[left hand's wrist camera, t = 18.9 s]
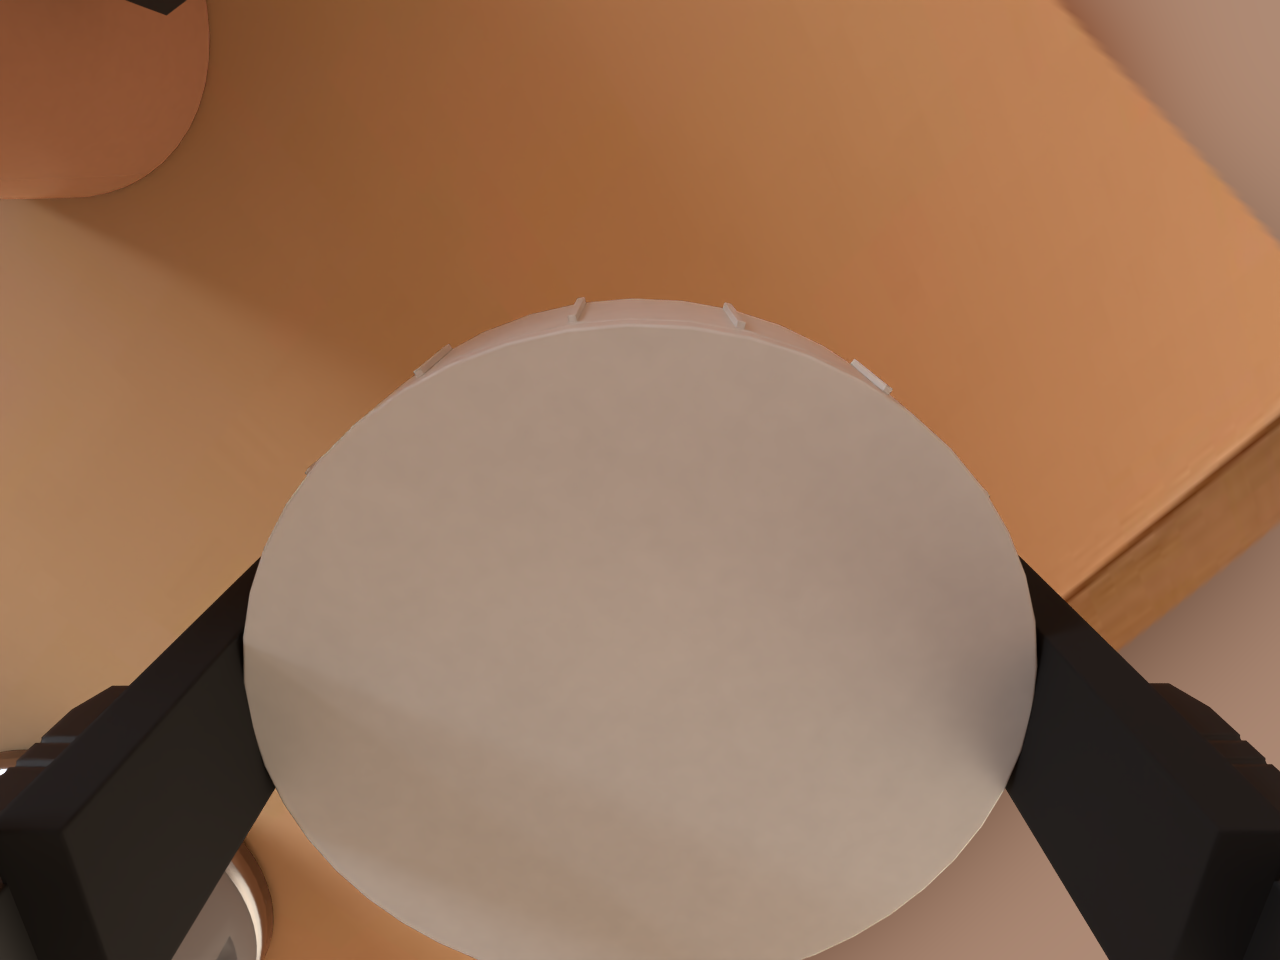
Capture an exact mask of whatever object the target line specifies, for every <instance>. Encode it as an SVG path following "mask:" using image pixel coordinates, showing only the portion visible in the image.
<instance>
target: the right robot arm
mask: <svg viewBox="0 0 1280 960" xmlns="http://www.w3.org/2000/svg"><path fill="white" fill-rule="evenodd" d="M126 1H129V2H131V3H134V4H137V5H139V6H142V7H145V8H148V9H150V10H153V11H156V12H158V13H161V14H164V15H166V16H167V15H168V14H169V13H171V12H172V11H173V10H175V9H176V8H177V7H179V6H180V5H181V4H183V3H184V2H185V1H186V0H126Z"/></svg>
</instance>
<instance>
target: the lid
mask: <svg viewBox="0 0 1280 960" xmlns="http://www.w3.org/2000/svg"><path fill="white" fill-rule="evenodd" d="M414 374H415V375H414V376H412V377H411V378H410V379H408V380H407V381H406V382H404V383H403V384H402V385H401V386H399V387H398V388H397V389H396V390H395V391H393V392H392V393H391V394H390V395H389V396H388V397H386V398H385V399H384V400H383V401H382V402H380V403H379V404H378V405H377V406H376V407H374V408H373V409H372V410H371V411H370V412H368V413H367V414H366V415H365V416H364V417H362V418H361V419H360V420H359V421H358V422H356V423H355V424H354V425H353V426H352V427H351V428H350V429H349V430H348V431H347V432H346V433H345V434H344V435H343V436H342V437H341V438H340V439H339V440H338V441H337V442H336V443H335V444H334V445H333V446H332V447H331V448H330V449H329V450H328V451H327V452H326V453H325V454H324V455H323V456H322V457H320V458H319V459H318V460H317V461H316V462H315V463H313V464H312V465H311V466H310V467H309V468H308V469H307V470H306V472H305V474H307V476H306V477H305V479H304V480H303V481H302V483H301V484H300V486H299V487H298V488H297V490H296V491H295V492H294V494H293V495H292V497H291V498H290V499H289V501H288V502H287V504H286V505H285V507H284V509H283V511H282V513H281V515H280V517H279V519H278V521H277V523H276V525H275V527H274V529H273V531H272V533H271V535H270V537H269V539H268V541H267V543H266V545H265V547H264V549H263V552H262V556H261V559H260V562H259V565H258V568H257V571H256V575H255V578H254V581H253V584H252V587H251V590H250V595H249V602H248V608H247V615H246V622H245V629H244V636H243V663H244V685H245V690H246V695H247V699H248V704H249V709H250V714H251V718H252V723H253V728H254V732H255V736H256V740H257V743H258V747H259V750H260V753H261V756H262V759H263V762H264V765H265V767H266V769H267V771H268V773H269V775H270V777H271V779H272V781H273V783H274V785H275V787H276V789H277V791H278V793H279V795H280V797H281V799H282V801H283V803H284V805H285V806H286V808H287V809H288V811H289V812H290V814H291V815H292V816H293V818H294V819H295V821H296V822H297V824H298V825H299V827H300V828H301V830H302V831H303V833H304V834H305V835H306V837H307V838H308V840H309V841H310V842H311V843H312V844H313V845H314V846H315V847H316V849H317V850H318V851H319V852H320V853H321V854H322V855H323V856H324V858H325V859H326V860H327V861H328V862H329V863H330V864H331V865H332V867H333V868H334V869H335V870H336V871H337V872H338V873H340V874H341V875H342V876H343V877H344V878H345V879H346V880H347V881H349V882H350V883H351V884H352V885H353V886H354V887H355V888H356V889H358V890H359V891H360V892H361V893H362V894H363V895H364V896H366V897H367V898H368V899H369V900H371V901H372V902H374V903H375V904H376V905H378V906H379V907H381V908H382V909H384V910H385V911H386V912H388V913H389V914H391V915H392V916H394V917H395V918H396V919H398V920H399V921H401V922H402V923H404V924H406V925H407V926H409V927H411V928H413V929H415V930H416V931H418V932H420V933H422V934H424V935H426V936H427V937H429V938H431V939H433V940H435V941H436V942H438V943H440V944H442V945H445V946H447V947H449V948H452V949H454V950H456V951H459V952H461V953H463V954H466V955H468V956H470V957H473V958H475V959H477V960H802V959H805V958H807V957H810V956H813V955H816V954H818V953H820V952H822V951H824V950H826V949H829V948H831V947H833V946H835V945H837V944H839V943H841V942H843V941H845V940H847V939H850V938H852V937H854V936H856V935H857V934H859V933H861V932H862V931H864V930H866V929H867V928H869V927H871V926H872V925H874V924H876V923H877V922H879V921H880V920H882V919H884V918H886V917H887V916H889V915H891V914H892V913H893V912H895V911H896V910H897V909H898V908H900V907H901V906H902V905H904V904H905V903H906V902H908V901H909V900H910V899H911V898H913V897H914V896H915V895H917V894H918V893H919V892H921V891H922V890H923V889H925V888H926V887H927V886H928V885H929V884H930V883H931V882H932V881H933V880H934V879H935V878H936V877H937V876H938V875H939V874H940V873H941V872H942V871H943V870H944V869H945V868H946V867H947V866H948V865H949V864H951V863H952V862H953V861H954V860H955V859H956V857H957V856H958V855H959V854H960V853H961V851H962V850H963V849H964V848H965V846H966V845H967V844H968V843H969V841H970V840H971V839H972V838H973V836H974V835H975V834H976V833H977V832H978V830H979V829H980V828H981V827H982V825H983V824H984V822H985V820H986V819H987V817H988V815H989V814H990V812H991V811H992V809H993V807H994V806H995V804H996V802H997V801H998V799H999V798H1000V796H1001V794H1002V793H1003V791H1004V789H1005V787H1006V785H1007V782H1008V780H1009V778H1010V775H1011V773H1012V771H1013V769H1014V766H1015V764H1016V762H1017V759H1018V757H1019V755H1020V753H1021V750H1022V746H1023V742H1024V738H1025V734H1026V729H1027V725H1028V721H1029V717H1030V713H1031V708H1032V703H1033V698H1034V692H1035V683H1036V674H1037V647H1036V625H1035V617H1034V612H1033V608H1032V603H1031V598H1030V593H1029V588H1028V584H1027V579H1026V575H1025V572H1024V570H1023V567H1022V564H1021V562H1020V559H1019V557H1018V554H1017V552H1016V549H1015V546H1014V544H1013V541H1012V539H1011V536H1010V533H1009V531H1008V529H1007V528H1006V526H1005V524H1004V522H1003V521H1002V519H1001V517H1000V516H999V514H998V512H997V510H996V509H995V507H994V505H993V504H992V502H991V500H990V498H989V497H990V496H989V494H988V492H987V491H986V490H985V489H984V488H983V487H982V486H981V485H980V483H979V482H978V481H977V480H976V478H975V477H974V476H973V475H972V474H971V472H970V471H969V470H968V469H967V467H966V466H965V465H964V464H963V463H962V461H961V460H960V459H959V458H958V456H957V455H956V454H955V453H954V452H953V450H952V449H951V448H950V447H949V446H948V445H947V444H946V443H944V442H943V441H942V440H941V439H940V438H939V437H938V436H937V435H936V434H934V433H933V432H932V431H931V430H930V429H929V428H928V427H927V426H926V425H925V424H923V423H922V422H921V421H920V420H919V419H918V418H917V417H916V416H915V415H913V414H912V413H911V412H910V411H909V410H908V409H906V408H905V407H904V406H903V405H902V404H900V403H899V402H898V401H897V400H896V399H895V398H893V397H892V396H891V395H890V393H891V391H892V390H893V389H892V388H891V387H890V386H888V385H887V384H886V383H885V382H883V381H882V380H881V379H880V378H879V377H877V376H876V375H875V374H874V373H872V372H871V371H870V370H869V369H867V368H866V367H865V366H864V365H862V364H861V363H860V362H859V361H857V360H856V359H854V360H853V361H852V362H851V364H850V363H849V362H847V361H846V360H844V359H843V358H841V357H840V356H838V355H837V354H835V353H834V352H832V351H831V350H829V349H828V348H826V347H825V346H823V345H821V344H819V343H817V342H814V341H812V340H810V339H808V338H806V337H804V336H802V335H800V334H798V333H796V332H794V331H792V330H789V329H787V328H785V327H783V326H781V325H779V324H776V323H772V322H769V321H766V320H763V319H760V318H757V317H754V316H751V315H748V314H744V313H741V312H738V311H737V310H736V309H735V308H734V307H733V305H732V304H730V303H726V302H725V303H724V306H723V308H721V307H715V306H709V305H704V304H698V303H692V302H687V301H679V300H655V299H631V298H630V299H619V300H608V301H597V302H586V301H585V297H581V298H577V300H576V302H575V304H573V305H569V306H565V307H560V308H556V309H552V310H547V311H543V312H539V313H534V314H530V315H527V316H525V317H522V318H519V319H517V320H514V321H511V322H509V323H506V324H503V325H501V326H498V327H496V328H493V329H490V330H488V331H485V332H483V333H481V334H479V335H477V336H475V337H473V338H472V339H470V340H468V341H466V342H464V343H462V344H461V345H459V346H457V347H455V348H453V349H452V347H451V346H450V344H448V345H446V346H444V347H443V348H442V349H440V350H439V351H438V352H437V353H435V354H434V355H433V356H432V357H431V358H429V359H428V360H427V361H426V362H425V363H423V364H422V365H421V366H420V367H418V368H417V369H416V370H415V371H414Z"/></svg>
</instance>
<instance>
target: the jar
mask: <svg viewBox="0 0 1280 960" xmlns="http://www.w3.org/2000/svg"><path fill="white" fill-rule="evenodd" d="M209 41H210V33H209V23H208V12H207V5H206V0H186V1H185V2H184V3H183V4H181V5H180V6H179V7H177V8H176V9H175V10H173V11H172V12H171V13H169V14H168V15H167V16H166V15H164V14H161V13H158V12H156V11H153V10H150V9H148V8H145V7H142V6H139V5H137V4H134V3H131V2H129V1H126V0H0V199H40V198H78V197H90V196H95V195H101V194H106V193H110V192H112V191H115V190H118V189H121V188H124V187H126V186H129V185H131V184H132V183H134V182H136V181H138V180H140V179H141V178H143V177H145V176H147V175H148V174H149V173H150V172H152V171H153V170H154V169H156V168H157V167H158V166H159V165H161V164H162V163H163V162H164V161H165V160H166V159H167V158H168V156H169V155H170V154H171V153H172V152H173V151H174V150H175V149H176V148H177V146H178V145H179V143H180V142H181V140H182V139H183V137H184V136H185V134H186V133H187V131H188V130H189V128H190V126H191V124H192V121H193V119H194V117H195V115H196V113H197V111H198V108H199V105H200V102H201V98H202V95H203V91H204V88H205V84H206V77H207V71H208V64H209Z"/></svg>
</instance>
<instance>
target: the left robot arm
mask: <svg viewBox="0 0 1280 960" xmlns="http://www.w3.org/2000/svg"><path fill="white" fill-rule="evenodd" d="M1018 557H1019V559H1020V562H1021V564H1022V567H1023V570H1024V572H1025V575H1026V579H1027V584H1028V588H1029V593H1030V598H1031V603H1032V608H1033V612H1034V617H1035V625H1036V647H1037V674H1036V683H1035V692H1034V698H1033V703H1032V708H1031V713H1030V717H1029V721H1028V725H1027V729H1026V734H1025V738H1024V742H1023V746H1022V750H1021V753H1020V755H1019V757H1018V759H1017V762H1016V764H1015V766H1014V769H1013V771H1012V773H1011V775H1010V778H1009V780H1008V782H1007V785H1006V787H1005V788H1006V790H1007V792H1008V793H1009V795H1010V797H1011V798H1012V800H1013V802H1014V803H1015V805H1016V807H1017V808H1018V810H1019V812H1020V813H1021V815H1022V817H1023V818H1024V820H1025V821H1026V823H1027V825H1028V826H1029V828H1030V830H1031V831H1032V833H1033V835H1034V836H1035V838H1036V840H1037V841H1038V843H1039V845H1040V846H1041V848H1042V849H1043V851H1044V853H1045V854H1046V856H1047V858H1048V860H1049V861H1050V863H1051V864H1052V866H1053V868H1054V869H1055V871H1056V873H1057V874H1058V876H1059V878H1060V879H1061V881H1062V883H1063V884H1064V886H1065V888H1066V889H1067V891H1068V893H1069V894H1070V896H1071V898H1072V899H1073V901H1074V902H1075V904H1076V906H1077V908H1078V909H1079V911H1080V912H1081V914H1082V916H1083V917H1084V919H1085V921H1086V922H1087V924H1088V926H1089V927H1090V929H1091V931H1092V932H1093V934H1094V936H1095V937H1096V939H1097V941H1098V942H1099V944H1100V946H1101V947H1102V949H1103V951H1104V952H1105V954H1106V955H1107V957H1108V959H1109V960H1280V771H1279V770H1278V769H1277V768H1275V767H1274V766H1273V765H1272V764H1266V761H1265V757H1263V756H1262V755H1261V754H1260V753H1259V752H1258V751H1257V750H1256V749H1255V748H1254V747H1253V746H1251V745H1250V744H1249V743H1248V742H1247V741H1241V739H1240V735H1239V734H1238V733H1237V732H1236V731H1235V730H1234V729H1233V728H1232V727H1231V726H1230V725H1229V724H1227V723H1226V722H1225V721H1224V720H1223V719H1222V718H1221V717H1220V716H1219V715H1218V714H1217V713H1216V712H1214V711H1213V710H1212V709H1211V708H1210V707H1209V706H1207V705H1205V704H1203V703H1202V702H1200V701H1198V700H1197V699H1195V698H1193V697H1191V696H1190V695H1188V694H1186V693H1185V692H1183V691H1181V690H1179V689H1178V688H1176V687H1174V686H1173V685H1171V684H1169V683H1148V682H1147V681H1146V680H1145V679H1144V678H1143V677H1142V676H1141V675H1140V674H1139V673H1138V672H1137V671H1136V670H1135V669H1134V668H1133V667H1132V666H1131V665H1130V664H1129V663H1128V662H1127V661H1126V660H1125V659H1124V658H1123V657H1122V656H1121V655H1120V654H1118V653H1117V652H1116V651H1115V650H1114V649H1113V648H1112V647H1111V646H1110V645H1109V644H1108V643H1107V642H1106V641H1105V640H1104V639H1103V638H1102V637H1101V636H1100V635H1099V634H1098V633H1097V632H1096V631H1095V630H1094V629H1093V628H1092V627H1091V626H1090V625H1089V624H1088V623H1087V622H1086V621H1085V620H1084V619H1083V618H1082V617H1081V616H1080V615H1079V614H1078V613H1077V612H1076V611H1075V610H1074V609H1073V608H1072V607H1071V606H1070V605H1069V604H1068V603H1067V602H1065V601H1064V600H1063V599H1062V598H1061V597H1060V596H1059V595H1058V594H1057V593H1056V592H1055V591H1054V590H1053V589H1052V588H1051V587H1050V586H1049V585H1048V584H1047V583H1046V582H1045V581H1044V580H1043V579H1042V578H1041V577H1040V576H1039V575H1038V574H1037V573H1036V572H1035V571H1034V570H1033V569H1032V568H1031V567H1030V566H1029V565H1028V564H1027V563H1026V562H1025V561H1024V560H1023V559H1022V558H1021V557H1020V556H1019V555H1018ZM260 559H261V557H260V558H259V559H258V560H257V561H256V562H255V563H254V564H253V565H252V566H251V567H250V568H249V569H248V570H247V571H246V572H245V573H244V574H243V575H242V576H241V577H240V578H238V579H237V580H236V581H235V582H234V583H233V584H232V585H231V586H230V587H229V588H228V589H227V590H226V591H225V592H224V593H223V594H222V595H221V596H220V597H219V598H218V599H217V600H216V601H215V602H214V603H213V604H212V605H211V606H210V607H209V608H208V609H207V610H206V611H205V612H204V613H203V614H202V615H201V616H200V617H199V618H198V619H197V620H196V621H195V622H194V623H193V624H192V625H191V626H190V627H189V628H188V629H187V630H185V631H184V632H183V633H182V634H181V635H180V636H179V637H178V638H177V639H176V640H175V641H174V642H173V643H172V644H171V645H170V646H169V647H168V648H167V649H166V650H165V651H164V652H163V653H162V654H161V655H160V656H159V657H158V658H157V659H156V660H155V661H154V662H153V663H152V664H151V665H150V666H149V667H148V668H147V669H146V670H145V671H144V672H143V673H142V674H141V675H140V676H139V677H138V678H137V679H136V680H135V681H134V682H132V683H131V684H130V685H129V686H111V687H110V688H108V689H106V690H104V691H103V692H101V693H99V694H98V695H96V696H94V697H92V698H91V699H89V700H87V701H86V702H84V703H82V704H80V705H79V706H77V707H75V708H74V709H72V710H71V711H70V712H69V713H68V714H66V715H65V716H64V717H63V718H62V719H61V720H60V721H59V722H58V723H57V724H56V725H55V726H54V727H52V728H51V729H50V730H49V731H48V732H47V733H46V734H45V735H44V736H43V737H42V740H41V743H35V744H34V745H33V746H32V747H31V748H30V749H29V750H12V751H5V752H0V960H264V957H265V955H266V953H267V950H268V948H269V945H270V941H271V937H272V930H273V907H272V901H271V896H270V892H269V889H268V886H267V883H266V880H265V878H264V876H263V874H262V871H261V869H260V867H259V866H258V864H257V862H256V860H255V859H254V857H253V855H252V854H251V852H250V851H249V850H248V848H247V847H246V846H245V844H244V843H243V840H244V839H245V837H246V836H247V834H248V832H249V831H250V829H251V827H252V826H253V824H254V822H255V821H256V819H257V817H258V816H259V814H260V812H261V811H262V809H263V807H264V806H265V804H266V802H267V801H268V799H269V797H270V796H271V794H272V793H273V791H274V789H275V788H276V787H275V785H274V783H273V781H272V779H271V777H270V775H269V773H268V771H267V769H266V767H265V765H264V762H263V759H262V756H261V753H260V750H259V747H258V743H257V740H256V736H255V732H254V728H253V723H252V718H251V714H250V709H249V704H248V699H247V695H246V690H245V685H244V663H243V636H244V629H245V622H246V615H247V608H248V602H249V595H250V590H251V587H252V584H253V581H254V578H255V575H256V571H257V568H258V565H259V562H260Z"/></svg>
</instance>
